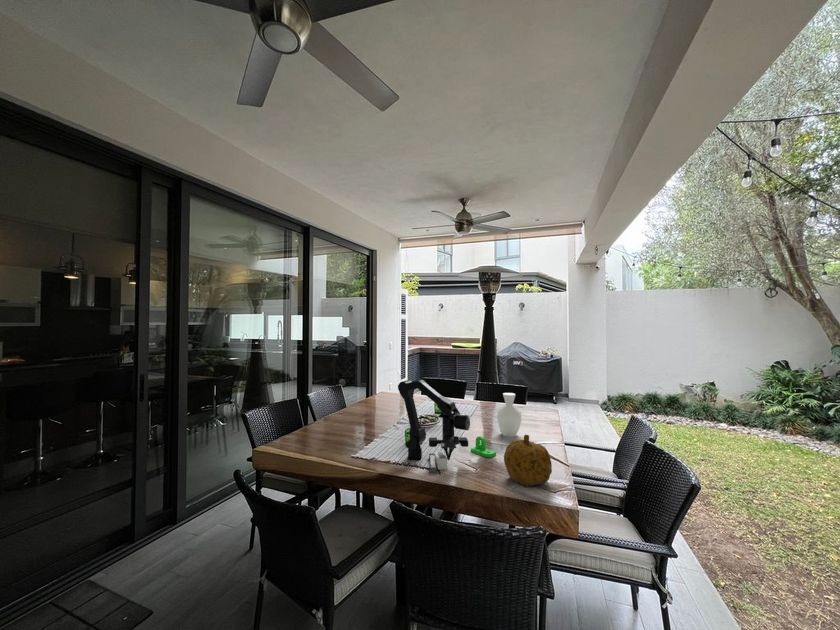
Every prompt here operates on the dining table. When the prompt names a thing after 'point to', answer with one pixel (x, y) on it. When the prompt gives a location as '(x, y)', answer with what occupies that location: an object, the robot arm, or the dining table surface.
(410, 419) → the robot arm
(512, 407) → the vase
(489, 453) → the mechanical part
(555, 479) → the dining table surface
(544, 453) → the decorative pumpkin
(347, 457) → the dining table surface
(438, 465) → the block
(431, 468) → the rail
